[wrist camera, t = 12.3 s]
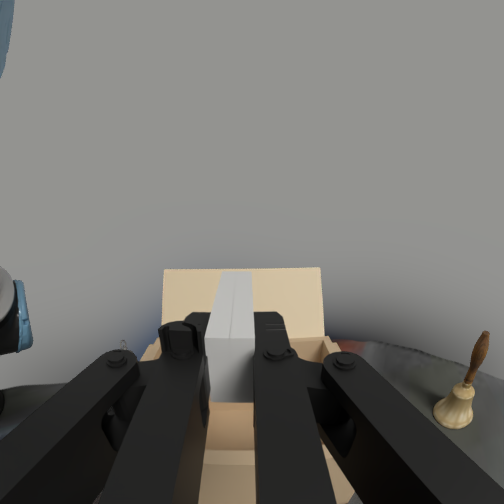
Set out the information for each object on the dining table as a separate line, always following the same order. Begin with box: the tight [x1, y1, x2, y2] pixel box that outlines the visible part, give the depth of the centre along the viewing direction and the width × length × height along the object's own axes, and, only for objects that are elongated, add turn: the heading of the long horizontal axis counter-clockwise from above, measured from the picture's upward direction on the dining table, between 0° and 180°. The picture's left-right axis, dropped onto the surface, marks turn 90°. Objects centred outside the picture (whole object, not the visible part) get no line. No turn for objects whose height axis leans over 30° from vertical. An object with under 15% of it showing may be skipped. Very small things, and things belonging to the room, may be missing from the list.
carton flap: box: [162, 268, 324, 338], centre depth 39 cm, size 10×23×1 cm
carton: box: [140, 336, 355, 504], centre depth 29 cm, size 21×25×14 cm
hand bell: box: [433, 331, 490, 429], centre depth 30 cm, size 8×8×16 cm
